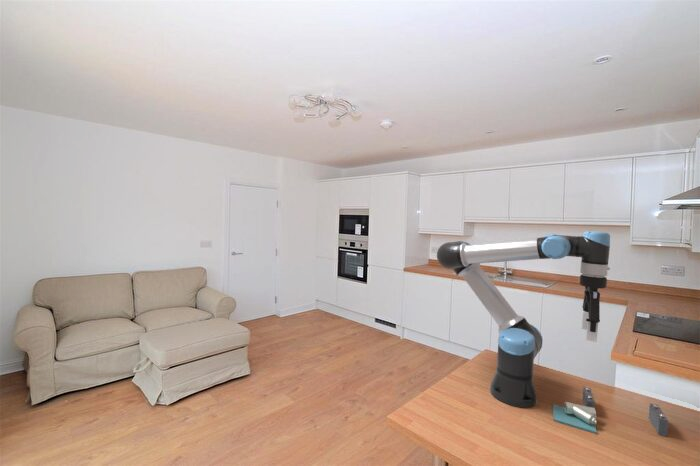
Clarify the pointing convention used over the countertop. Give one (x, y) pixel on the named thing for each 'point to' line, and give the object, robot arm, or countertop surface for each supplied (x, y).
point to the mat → (571, 420)
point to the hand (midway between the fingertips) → (588, 334)
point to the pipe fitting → (581, 412)
